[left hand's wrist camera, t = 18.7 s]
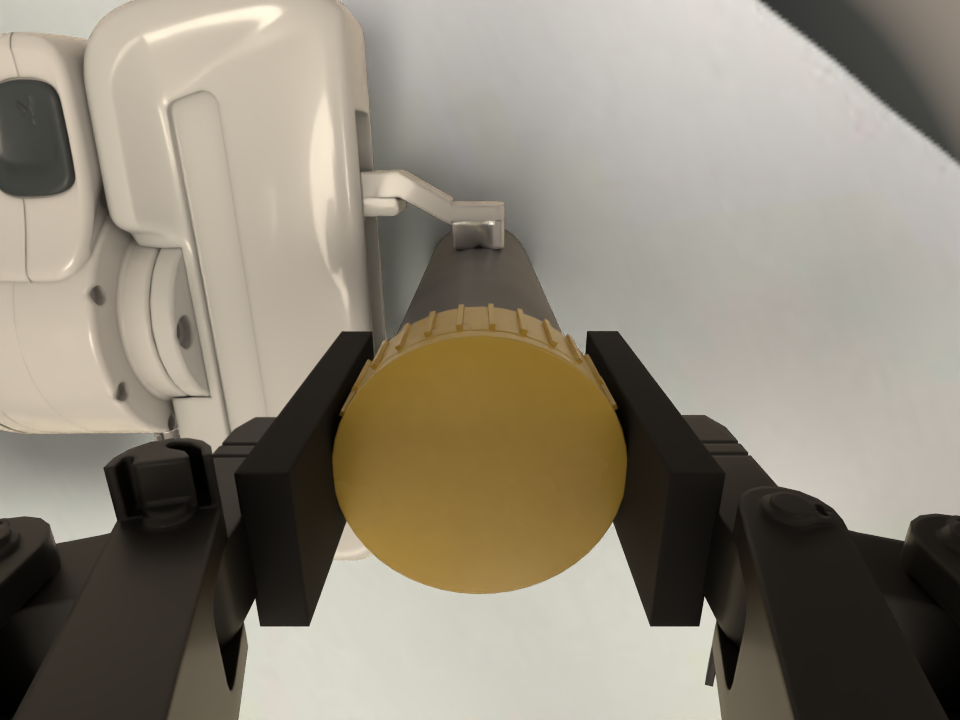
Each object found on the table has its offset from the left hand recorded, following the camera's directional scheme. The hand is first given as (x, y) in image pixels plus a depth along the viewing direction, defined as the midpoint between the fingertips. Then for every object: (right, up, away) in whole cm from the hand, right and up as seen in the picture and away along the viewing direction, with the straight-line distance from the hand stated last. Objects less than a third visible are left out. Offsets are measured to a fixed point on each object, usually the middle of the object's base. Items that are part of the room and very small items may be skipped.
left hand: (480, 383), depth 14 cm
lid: (0, -1, -4) cm, 4 cm away
